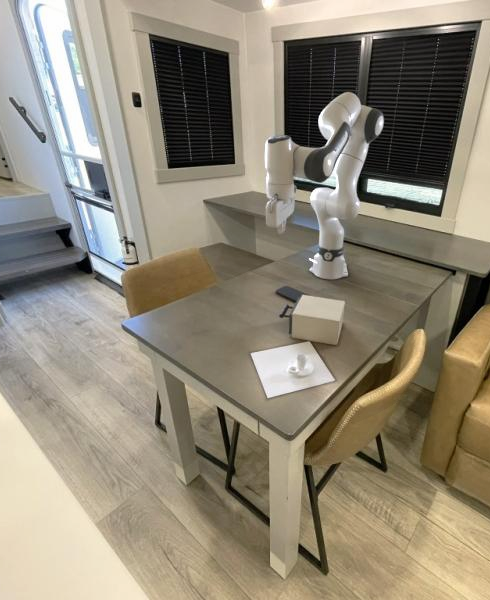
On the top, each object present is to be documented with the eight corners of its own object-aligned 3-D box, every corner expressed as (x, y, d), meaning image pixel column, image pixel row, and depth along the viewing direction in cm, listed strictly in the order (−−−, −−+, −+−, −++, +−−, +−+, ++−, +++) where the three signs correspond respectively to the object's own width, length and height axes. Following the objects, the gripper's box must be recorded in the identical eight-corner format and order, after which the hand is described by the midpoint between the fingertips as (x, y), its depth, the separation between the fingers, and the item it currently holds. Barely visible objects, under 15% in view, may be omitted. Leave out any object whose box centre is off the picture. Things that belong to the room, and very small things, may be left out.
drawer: (276, 331, 113) (276, 312, 109) (286, 313, 123) (287, 295, 120) (330, 341, 110) (332, 321, 106) (336, 321, 121) (338, 303, 117)
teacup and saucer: (290, 380, 94) (290, 369, 92) (281, 363, 100) (281, 352, 98) (318, 373, 97) (319, 362, 95) (308, 357, 103) (309, 346, 101)
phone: (302, 303, 131) (274, 290, 138) (302, 305, 131) (274, 292, 139) (313, 296, 136) (286, 285, 144) (313, 298, 137) (286, 286, 144)
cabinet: (291, 337, 112) (292, 313, 107) (301, 317, 124) (302, 294, 119) (336, 345, 110) (339, 321, 105) (342, 323, 121) (345, 301, 117)
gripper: (279, 199, 97) (280, 243, 104) (297, 186, 115) (297, 224, 122) (259, 197, 98) (262, 241, 105) (280, 184, 116) (281, 223, 123)
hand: (281, 232), depth 114 cm, fingers closed
